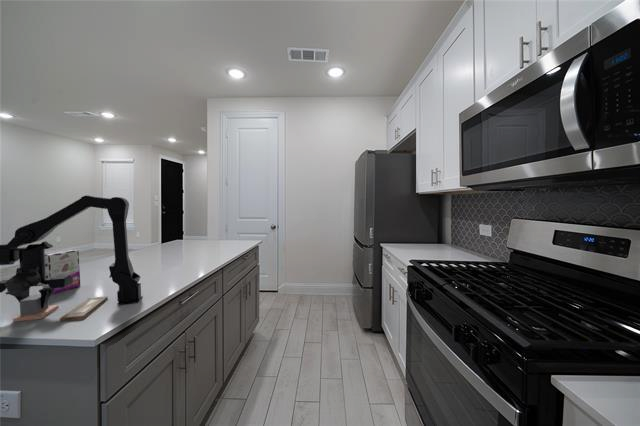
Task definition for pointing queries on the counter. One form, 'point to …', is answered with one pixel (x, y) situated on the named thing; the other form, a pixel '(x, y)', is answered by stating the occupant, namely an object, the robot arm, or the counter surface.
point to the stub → (33, 308)
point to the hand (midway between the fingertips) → (34, 308)
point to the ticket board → (84, 309)
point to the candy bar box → (63, 267)
